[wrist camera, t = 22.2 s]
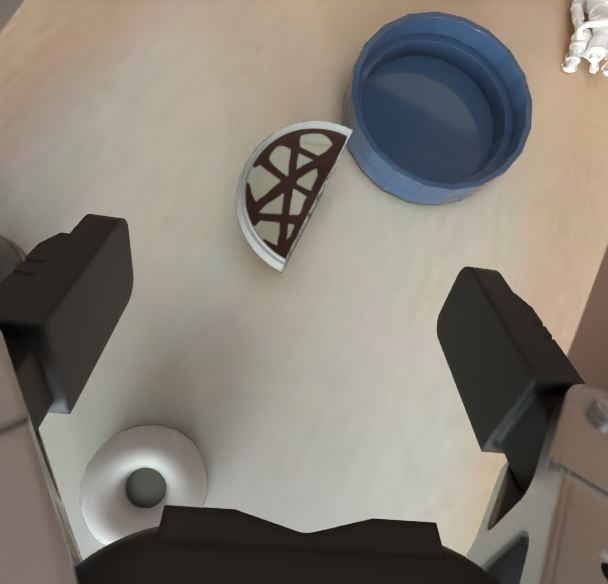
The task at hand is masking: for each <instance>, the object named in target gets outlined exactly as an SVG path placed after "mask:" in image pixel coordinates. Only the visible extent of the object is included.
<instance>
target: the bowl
mask: <svg viewBox="0 0 608 584" xmlns="http://www.w3.org/2000/svg"><path fill="white" fill-rule="evenodd" d="M531 116H532V99H531V95H530V92H529V88H528V85H527V81H526V77H525V75H524V72H523V71H522V69H521V68H520V66H519V64H518V63H517V61H516V59H515V58H514V56H513V55H512V53H511V51H510V50H509V49H508V48H507V47H506V46H505V45H504V44H503V43H502V42H501V41H499V40H498V39H497V38H496V37H495V36H494V35H493V34H492V33H491V32H490V31H489V30H487V29H485V28H483V27H481V26H479V25H477V24H475V23H474V22H472V21H470V20H468V19H466V18H463V17H460V16H455V15H450V14H445V13H440V12H428V13H417V14H408V15H406V16H404V17H402V18H399V19H397V20H395V21H393V22H390V23H388V24H386V25H384V26H383V27H382V28H381V29H380V30H379V31H378V32H377V33H376V34H375V35H374V36H373V37H372V38H371V39H370V40H369V41H368V42H367V43H366V44H365V45H364V47H363V50H362V52H361V54H360V56H359V58H358V60H357V62H356V64H355V66H354V69H353V71H352V74H351V77H350V79H349V82H348V85H347V88H346V90H345V93H344V100H343V110H342V124H343V126H345V127H348V128H350V129H352V130H353V131H352V133H351V135H350V138H349V139H348V141H347V146H348V148H349V149H350V151H351V153H352V154H353V156H354V158H355V160H356V161H357V163H358V165H359V166H360V168H361V169H362V171H363V172H364V173H365V174H367V175H368V176H369V177H370V178H371V179H372V180H373V181H374V182H375V183H376V184H377V185H378V186H379V187H381V188H382V189H383V190H385V191H387V192H389V193H391V194H393V195H395V196H398V197H400V198H402V199H404V200H406V201H409V202H416V203H423V204H429V205H437V204H443V203H449V202H455V201H460V200H462V199H464V198H465V197H467V196H469V195H471V194H473V193H474V192H476V191H478V190H480V189H481V188H483V187H484V186H486V185H487V184H489V183H490V182H492V181H493V180H495V179H496V178H498V177H499V176H501V175H502V174H503V173H505V172H506V170H507V169H508V168H509V167H510V166H511V165H512V164H513V162H514V161H515V160H516V159H517V158H518V157H519V155H520V154H521V153H522V151H523V148H524V145H525V143H526V140H527V137H528V135H529V132H530V130H531Z"/></svg>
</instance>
